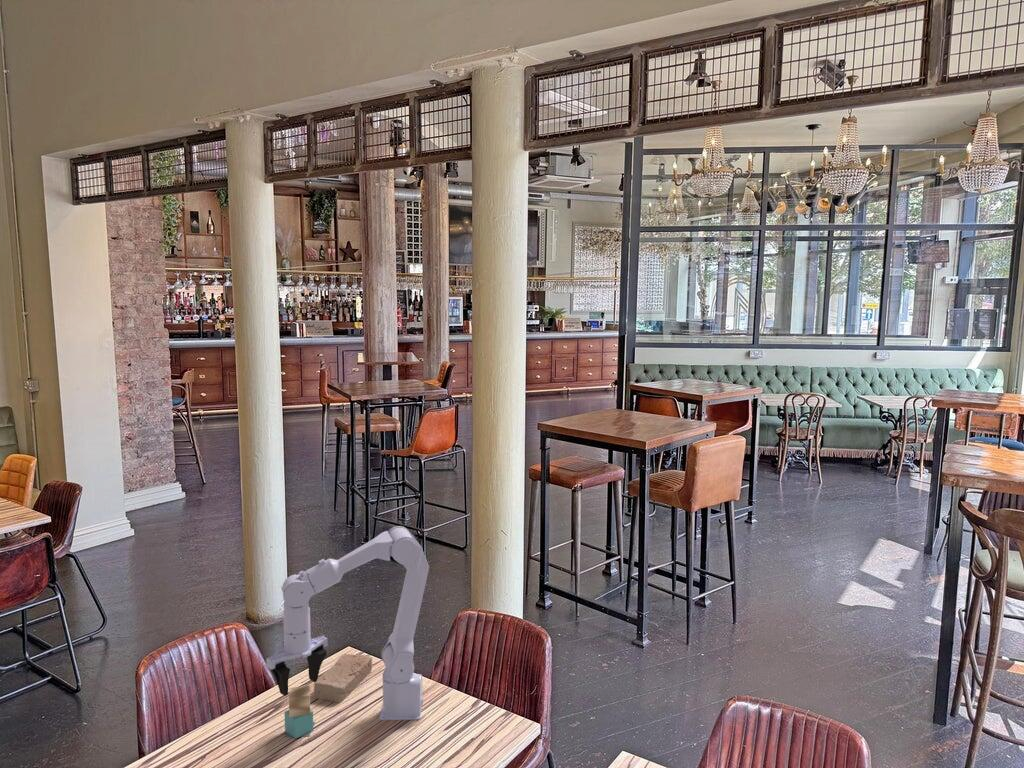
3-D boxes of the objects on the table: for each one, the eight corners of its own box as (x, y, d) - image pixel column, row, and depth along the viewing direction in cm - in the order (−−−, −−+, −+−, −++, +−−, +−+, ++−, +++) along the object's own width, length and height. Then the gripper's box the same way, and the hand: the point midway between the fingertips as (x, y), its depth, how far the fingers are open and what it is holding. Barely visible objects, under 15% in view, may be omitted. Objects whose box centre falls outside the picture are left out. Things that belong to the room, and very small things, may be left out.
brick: (342, 705, 170) (341, 686, 169) (311, 700, 172) (311, 681, 172) (373, 672, 186) (373, 655, 185) (345, 668, 188) (344, 651, 187)
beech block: (310, 703, 161) (309, 685, 161) (310, 714, 157) (309, 695, 156) (289, 706, 160) (289, 688, 159) (289, 717, 155) (288, 698, 155)
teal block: (302, 722, 161) (302, 703, 161) (313, 730, 158) (312, 711, 158) (285, 730, 158) (284, 711, 158) (295, 738, 155) (294, 719, 155)
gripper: (278, 646, 148) (280, 706, 150) (334, 623, 159) (336, 680, 161) (260, 636, 153) (262, 695, 154) (316, 615, 164) (318, 670, 165)
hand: (298, 686), depth 158 cm, fingers open, 7 cm apart
